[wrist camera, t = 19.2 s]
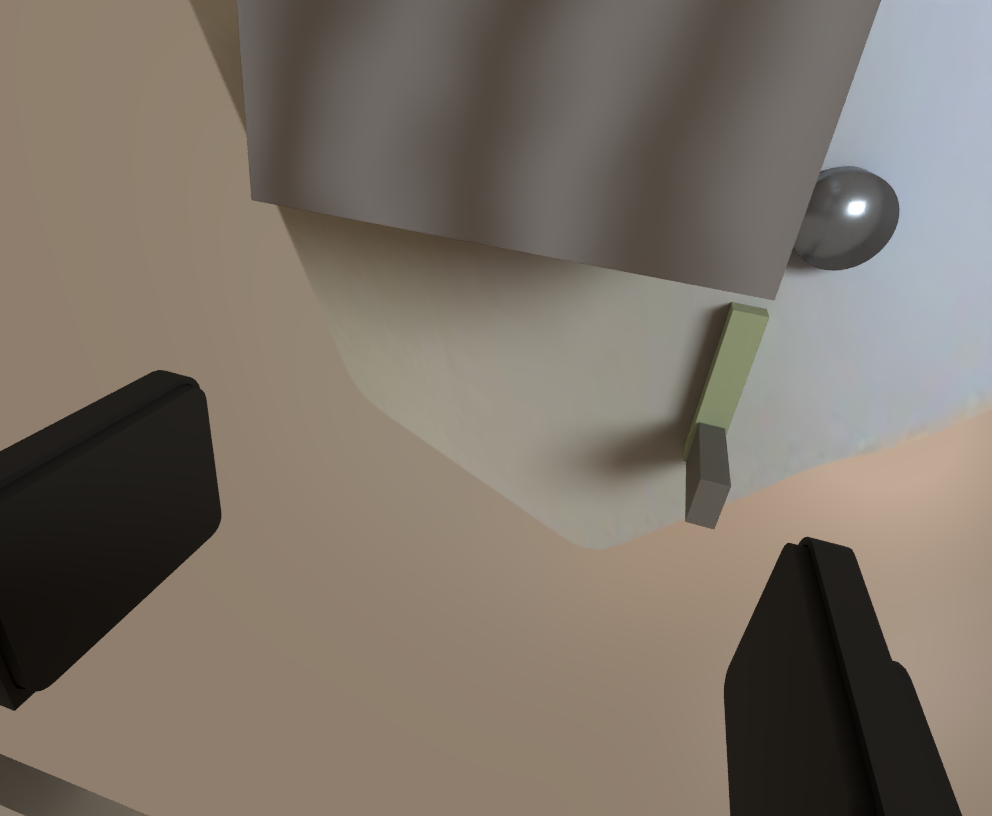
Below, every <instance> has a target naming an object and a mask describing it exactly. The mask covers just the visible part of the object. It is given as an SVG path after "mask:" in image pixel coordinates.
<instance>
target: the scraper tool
mask: <svg viewBox="0 0 992 816" xmlns="http://www.w3.org/2000/svg"><path fill="white" fill-rule="evenodd" d="M768 320H769V315H768V312H767V309H763V308H758V307H753V306H749V305H744V304H739V303H734V302H732V303H731V306H730V309H729V312H728V315H727V318H726V321H725V324H724V327H723V330H722V333H721V336H720V339H719V342H718V345H717V348H716V351H715V354H714V357H713V360H712V363H711V366H710V369H709V373H708V376H707V379H706V382H705V385H704V388H703V391H702V394H701V397H700V400H699V403H698V406H697V409H696V412H695V415H694V418H693V421H692V424H691V427H690V430H689V433H688V436H687V439H686V442H685V445H684V448H683V460H684V461H686V510H685V521H686V522H689V523H692V524H696V525H700V526H703V527H707V528H711V529H714V528H715V526H716V523H717V521H718V518H719V516H720V513H721V511H722V508H723V506H724V503H725V500H726V498H727V495H728V493H729V490H730V488H731V483H730V473H729V463H728V453H727V443H726V434H727V431H728V429H729V426H730V423H731V421H732V418H733V415H734V412H735V410H736V407H737V404H738V401H739V399H740V396H741V393H742V391H743V388H744V385H745V382H746V380H747V377H748V374H749V371H750V369H751V366H752V363H753V361H754V358H755V355H756V352H757V350H758V347H759V344H760V341H761V339H762V336H763V333H764V331H765V328H766V325H767V322H768Z"/></svg>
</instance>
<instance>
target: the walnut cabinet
mask: <svg viewBox="0 0 992 816" xmlns="http://www.w3.org/2000/svg"><path fill="white" fill-rule="evenodd" d="M236 2H237V15H238V28H239V41H240V54H241V67H242V80H243V93H244V106H245V119H246V132H247V145H248V158H249V170H250V184H251V196H252V197H251V198H252V200H254V201H259V202H265V203H270V204H275V205H280V206H285V207H291V208H296V209H301V210H306V211H312V212H317V213H322V214H327V215H332V216H338V217H343V218H348V219H353V220H358V221H364V222H369V223H374V224H379V225H385V226H390V227H395V228H400V229H405V230H411V231H416V232H421V233H426V234H431V235H437V236H442V237H447V238H452V239H457V240H463V241H468V242H473V243H478V244H484V245H489V246H494V247H499V248H504V249H510V250H515V251H520V252H525V253H530V254H536V255H541V256H546V257H551V258H556V259H562V260H567V261H572V262H577V263H583V264H588V265H593V266H598V267H603V268H609V269H614V270H619V271H624V272H629V273H635V274H640V275H645V276H650V277H655V278H661V279H666V280H671V281H676V282H682V283H687V284H692V285H697V286H702V287H708V288H713V289H718V290H723V291H728V292H734V293H739V294H744V295H749V296H754V297H760V298H765V299H770V300H775V297H776V294H777V292H778V289H779V286H780V283H781V280H782V278H783V275H784V272H785V269H786V266H787V263H788V261H789V258H790V255H791V252H792V249H793V247H794V244H795V241H796V238H797V235H798V232H799V230H800V227H801V224H802V221H803V218H804V216H805V213H806V210H807V207H808V204H809V202H810V199H811V196H812V193H813V190H814V187H815V185H816V182H817V179H818V176H819V173H820V171H821V168H822V165H823V162H824V159H825V156H826V154H827V151H828V148H829V145H830V142H831V140H832V137H833V134H834V131H835V128H836V126H837V123H838V120H839V117H840V114H841V111H842V109H843V106H844V103H845V100H846V97H847V95H848V92H849V89H850V86H851V83H852V80H853V78H854V75H855V72H856V69H857V66H858V64H859V61H860V58H861V55H862V52H863V50H864V47H865V44H866V41H867V38H868V35H869V33H870V30H871V27H872V24H873V21H874V19H875V16H876V13H877V10H878V7H879V5H880V2H881V0H236Z"/></svg>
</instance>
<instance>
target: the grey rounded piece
mask: <svg viewBox="0 0 992 816" xmlns="http://www.w3.org/2000/svg"><path fill="white" fill-rule="evenodd" d="M898 218H899V203H898V199H897V196H896V194H895V192H894V190H893V189H892V187H891V186H890V185H889V184H888V183H887V182H886V181H885V180H883V179H882V178H880V177H878V176H877V175H875V174H873V173H871V172H869V171H867V170H865V169H862V168H858V167H850V166H844V167H837V168H832V169H829V170H826V171H824V172H821V173H819V176H818V179H817V182H816V185H815V187H814V190H813V193H812V196H811V199H810V202H809V204H808V207H807V210H806V213H805V216H804V218H803V221H802V224H801V227H800V230H799V232H798V235H797V238H796V241H795V244H794V247H793V248H794V249H795V251H796V252H797V253H798V254H799V256H800V257H801V258H802V259H803V260H804V261H806V262H807V263H808V264H810V265H812V266H814V267H817V268H820V269H824V270H843V269H848V268H852V267H855V266H857V265H860V264H862V263H864V262H866V261H868V260H869V259H871V258H872V257H874V256H875V255H876V254H877V253H879V252H880V251H881V250H882V249H883V248H884V246H885V245H886V244H887V243H888V241H889V240H890V238H891V237H892V235H893V233H894V231H895V229H896V226H897V223H898Z"/></svg>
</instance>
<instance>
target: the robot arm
mask: <svg viewBox="0 0 992 816" xmlns="http://www.w3.org/2000/svg"><path fill="white" fill-rule="evenodd" d="M220 521H221V507H220V499H219V492H218V484H217V477H216V469H215V461H214V453H213V446H212V439H211V431H210V423H209V416H208V408H207V401H206V396H205V393H204V392H203V391H202V390H201V389H200V387H199V384H198V383H197V382H196V380H194V379H193V378H191V377H187V376H183V375H179V374H176V373H172V372H168V371H164V370H157V371H154V372H151V373H149V374H148V375H146V376H144V377H142V378H140V379H138V380H136V381H134V382H132V383H130V384H128V385H126V386H124V387H123V388H121V389H119V390H117V391H115V392H113V393H111V394H109V395H107V396H105V397H104V398H101V399H100V400H98V401H96V402H94V403H92V404H90V405H88V406H86V407H84V408H82V409H80V410H78V411H77V412H75V413H73V414H71V415H69V416H67V417H65V418H63V419H61V420H59V421H57V422H55V423H54V424H52V425H50V426H48V427H46V428H44V429H42V430H40V431H38V432H36V433H34V434H33V435H31V436H29V437H27V438H25V439H23V440H21V441H19V442H17V443H15V444H13V445H11V446H10V447H8V448H6V449H4V450H2V451H0V705H1V706H4V707H6V708H9V709H11V710H14V711H15V710H16V709H17V708H18V707H19V706H20V705H21V704H23V703H24V702H25V701H26V700H27V699H28V698H29V697H30V696H31V695H32V694H33V693H35V692H36V691H41V690H44V689H46V688H48V687H49V686H50V685H52V684H53V683H54V682H55V681H56V680H57V679H58V678H59V677H61V676H62V675H63V674H64V673H65V672H66V671H67V670H68V669H69V668H70V667H71V666H72V665H73V664H75V663H76V662H77V661H78V660H79V659H80V658H81V657H82V656H83V655H84V654H85V653H86V652H87V651H88V650H90V648H92V647H93V646H94V645H95V644H96V643H97V642H98V641H99V640H100V639H101V638H103V637H104V636H105V635H106V634H107V633H108V632H109V631H110V630H111V629H112V628H113V627H114V626H115V625H116V624H118V623H119V622H120V621H121V620H122V619H123V618H124V617H125V616H126V615H127V614H128V613H129V612H131V611H132V610H133V609H134V608H135V607H136V606H137V605H138V604H139V603H140V602H141V601H142V600H143V599H144V598H146V597H147V596H148V595H149V594H150V593H151V592H152V591H153V590H154V589H155V588H156V587H157V586H158V585H160V584H161V583H162V582H163V581H164V580H165V579H166V578H167V577H168V576H169V575H170V574H171V573H173V572H174V571H175V570H176V569H177V568H178V567H179V566H180V565H181V564H182V563H183V562H184V561H185V560H186V559H188V558H189V557H190V556H191V555H192V554H193V553H194V552H195V551H196V550H197V549H198V548H199V547H200V546H201V545H203V544H204V543H205V542H206V541H207V540H208V539H209V538H210V537H211V536H212V535H213V534H214V533H215V532H216V530H217V528H218V527H219V524H220ZM724 706H725V725H726V743H727V762H728V780H729V799H730V816H962V814H961V811H960V809H959V806H958V803H957V801H956V798H955V795H954V793H953V790H952V788H951V785H950V782H949V779H948V777H947V774H946V771H945V769H944V766H943V763H942V761H941V758H940V756H939V753H938V750H937V747H936V744H935V742H934V739H933V736H932V734H931V731H930V728H929V726H928V723H927V720H926V718H925V715H924V712H923V710H922V707H921V704H920V702H919V699H918V696H917V694H916V691H915V688H914V686H913V683H912V680H911V678H910V676H909V674H908V673H907V671H906V669H905V668H904V667H903V666H902V665H901V664H900V663H898V662H896V661H892V659H891V656H890V653H889V651H888V647H887V645H886V642H885V639H884V636H883V633H882V630H881V628H880V625H879V622H878V619H877V616H876V613H875V611H874V608H873V605H872V602H871V599H870V596H869V594H868V591H867V588H866V585H865V582H864V580H863V576H862V574H861V571H860V568H859V565H858V562H857V559H856V557H855V554H854V552H853V550H852V549H850V548H849V547H845V546H841V545H838V544H834V543H830V542H826V541H822V540H818V539H814V538H810V537H805V538H803V539H802V540H801V541H800V543H799V544H798V545H796V544H792V543H787V544H786V545H785V546H784V548H783V549H782V551H781V554H780V556H779V558H778V560H777V562H776V565H775V567H774V569H773V571H772V573H771V575H770V578H769V580H768V582H767V584H766V586H765V589H764V591H763V593H762V595H761V597H760V599H759V602H758V604H757V606H756V608H755V610H754V613H753V615H752V617H751V619H750V621H749V624H748V626H747V628H746V630H745V632H744V634H743V637H742V639H741V641H740V643H739V645H738V648H737V650H736V652H735V654H734V656H733V658H732V661H731V663H730V665H729V668H728V670H727V673H726V678H725V683H724ZM0 816H148V815H146V814H144V813H141V812H139V811H136V810H134V809H131V808H129V807H127V806H124V805H122V804H120V803H117V802H115V801H112V800H110V799H108V798H105V797H102V796H100V795H98V794H96V793H93V792H91V791H88V790H86V789H84V788H81V787H79V786H76V785H74V784H71V783H69V782H67V781H64V780H62V779H60V778H57V777H55V776H52V775H50V774H48V773H45V772H43V771H40V770H38V769H35V768H33V767H31V766H28V765H26V764H23V763H21V762H18V761H16V760H14V759H11V758H9V757H6V756H4V755H1V754H0Z"/></svg>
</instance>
